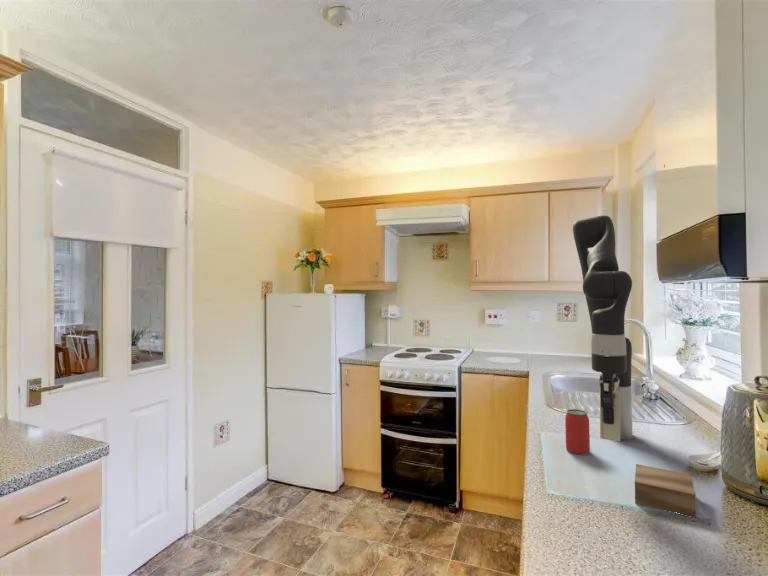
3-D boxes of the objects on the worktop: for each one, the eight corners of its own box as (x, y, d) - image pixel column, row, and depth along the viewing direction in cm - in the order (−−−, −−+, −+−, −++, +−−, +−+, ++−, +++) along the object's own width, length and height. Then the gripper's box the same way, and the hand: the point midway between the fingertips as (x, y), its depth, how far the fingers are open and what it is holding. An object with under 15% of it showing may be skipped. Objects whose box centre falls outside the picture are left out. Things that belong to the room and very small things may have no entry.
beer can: (570, 445, 125) (569, 407, 125) (593, 450, 120) (592, 411, 120) (562, 451, 120) (561, 412, 120) (585, 457, 116) (584, 416, 116)
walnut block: (636, 483, 100) (636, 463, 100) (691, 495, 93) (690, 474, 93) (635, 503, 90) (634, 481, 91) (696, 518, 84) (695, 494, 84)
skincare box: (600, 430, 101) (598, 383, 101) (620, 433, 99) (619, 385, 99) (600, 439, 95) (599, 389, 95) (621, 442, 93) (620, 391, 93)
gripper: (595, 347, 105) (597, 409, 105) (587, 355, 93) (588, 425, 93) (628, 349, 101) (630, 414, 101) (624, 357, 89) (625, 431, 89)
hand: (610, 419), depth 97 cm, fingers closed on skincare box, 6 cm apart
